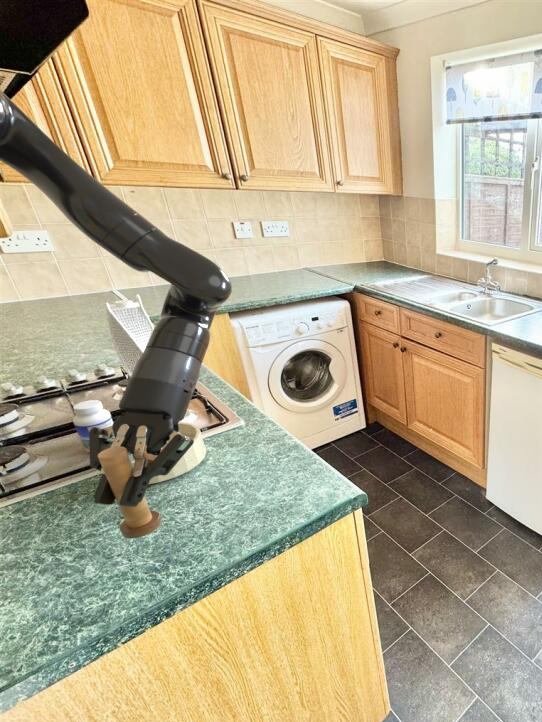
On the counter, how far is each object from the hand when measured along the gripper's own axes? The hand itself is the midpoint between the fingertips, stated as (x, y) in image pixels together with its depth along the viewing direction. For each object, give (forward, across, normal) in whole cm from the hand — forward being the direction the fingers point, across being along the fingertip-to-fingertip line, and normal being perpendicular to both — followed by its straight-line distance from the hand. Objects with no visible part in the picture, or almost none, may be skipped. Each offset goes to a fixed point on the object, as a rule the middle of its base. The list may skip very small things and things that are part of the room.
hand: (115, 504), depth 56 cm
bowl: (-8, -16, +24) cm, 30 cm away
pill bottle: (-11, -32, +27) cm, 43 cm away
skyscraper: (-21, -32, +38) cm, 54 cm away
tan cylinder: (+3, 0, +6) cm, 6 cm away
